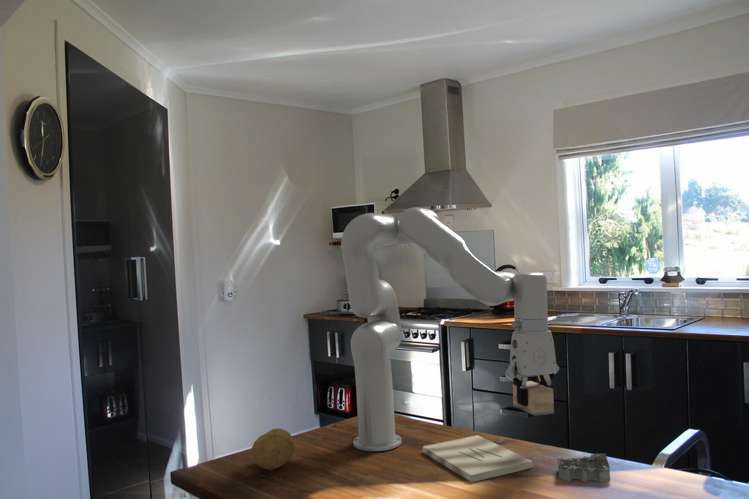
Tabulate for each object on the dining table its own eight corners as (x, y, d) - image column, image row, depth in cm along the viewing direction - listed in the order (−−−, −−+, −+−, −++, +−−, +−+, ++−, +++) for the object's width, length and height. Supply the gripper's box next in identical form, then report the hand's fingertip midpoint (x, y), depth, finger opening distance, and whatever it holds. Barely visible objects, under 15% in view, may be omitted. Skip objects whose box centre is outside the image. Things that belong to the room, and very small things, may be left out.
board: (422, 452, 145) (422, 446, 145) (477, 441, 152) (477, 435, 152) (471, 482, 125) (471, 475, 125) (532, 467, 131) (532, 460, 131)
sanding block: (513, 405, 141) (512, 382, 141) (531, 403, 143) (530, 380, 143) (534, 415, 133) (534, 391, 132) (553, 413, 134) (553, 389, 134)
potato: (242, 478, 135) (240, 443, 135) (264, 457, 148) (262, 425, 148) (283, 479, 133) (281, 443, 133) (301, 457, 147) (300, 425, 147)
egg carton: (609, 472, 128) (608, 453, 128) (611, 485, 120) (610, 465, 121) (557, 468, 131) (557, 449, 131) (557, 481, 124) (556, 461, 124)
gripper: (510, 330, 131) (512, 412, 131) (571, 324, 137) (573, 402, 137) (491, 326, 137) (493, 404, 138) (549, 320, 144) (551, 395, 144)
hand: (533, 402), depth 137 cm, fingers closed on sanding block, 5 cm apart
